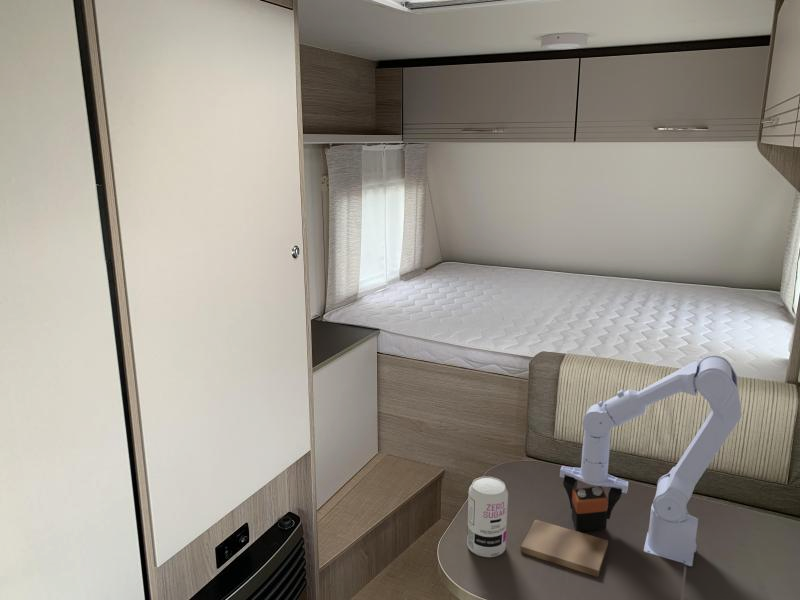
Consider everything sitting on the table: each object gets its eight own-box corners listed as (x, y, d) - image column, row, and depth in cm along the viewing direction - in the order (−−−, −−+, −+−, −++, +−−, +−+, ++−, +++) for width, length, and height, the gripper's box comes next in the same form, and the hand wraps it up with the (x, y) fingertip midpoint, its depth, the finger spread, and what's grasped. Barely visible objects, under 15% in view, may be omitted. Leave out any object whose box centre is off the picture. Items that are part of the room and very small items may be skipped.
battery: (606, 529, 132) (608, 496, 128) (576, 533, 132) (577, 499, 128) (600, 515, 136) (602, 482, 132) (571, 518, 136) (571, 485, 132)
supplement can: (482, 531, 133) (484, 471, 129) (513, 548, 127) (516, 485, 124) (459, 547, 127) (461, 484, 124) (490, 565, 122) (492, 500, 118)
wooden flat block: (607, 546, 128) (608, 540, 127) (598, 577, 118) (598, 570, 118) (534, 525, 135) (535, 519, 135) (520, 552, 126) (520, 546, 125)
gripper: (632, 457, 131) (626, 511, 134) (566, 442, 138) (562, 494, 141) (627, 471, 125) (622, 528, 128) (559, 455, 132) (555, 509, 135)
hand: (590, 511), depth 134 cm, fingers open, 7 cm apart
